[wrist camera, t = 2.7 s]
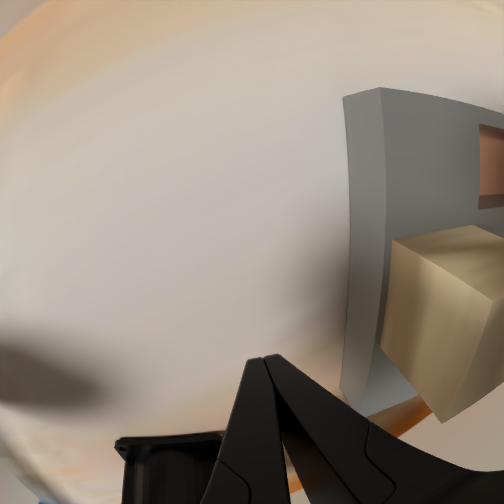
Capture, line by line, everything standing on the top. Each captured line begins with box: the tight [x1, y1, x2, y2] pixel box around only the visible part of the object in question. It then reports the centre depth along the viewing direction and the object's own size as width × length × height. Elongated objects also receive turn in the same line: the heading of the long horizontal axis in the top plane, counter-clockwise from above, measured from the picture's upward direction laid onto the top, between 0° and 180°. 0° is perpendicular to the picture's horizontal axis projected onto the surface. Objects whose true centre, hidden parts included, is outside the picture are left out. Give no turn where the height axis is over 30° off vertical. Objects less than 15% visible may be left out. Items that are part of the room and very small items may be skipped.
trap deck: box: [340, 87, 504, 417], centre depth 11 cm, size 16×14×4 cm
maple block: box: [379, 225, 504, 423], centre depth 8 cm, size 4×4×4 cm
